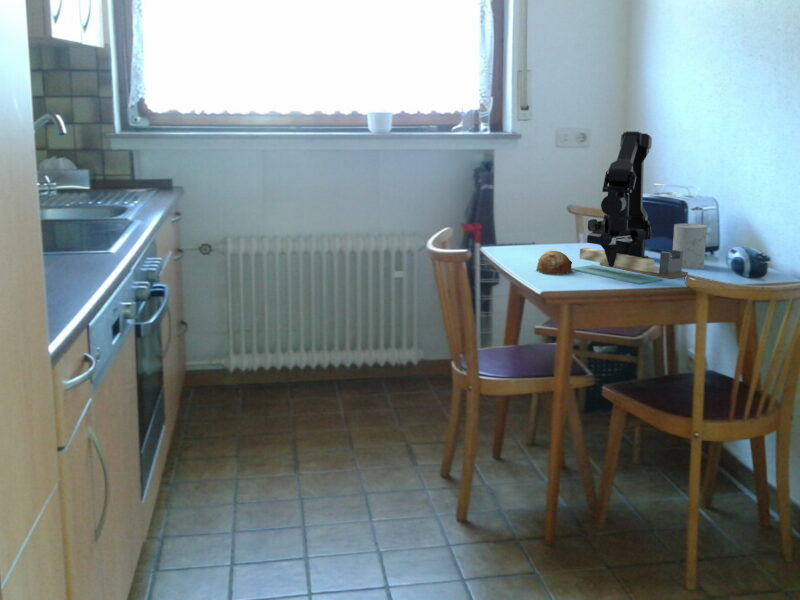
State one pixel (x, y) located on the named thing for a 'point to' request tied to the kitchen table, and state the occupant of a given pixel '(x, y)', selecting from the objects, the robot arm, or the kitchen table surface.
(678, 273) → the bracketed wooden plank
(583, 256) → the rail
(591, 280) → the kitchen table surface
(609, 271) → the mat
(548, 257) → the bread roll
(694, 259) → the grey stone cylinder
